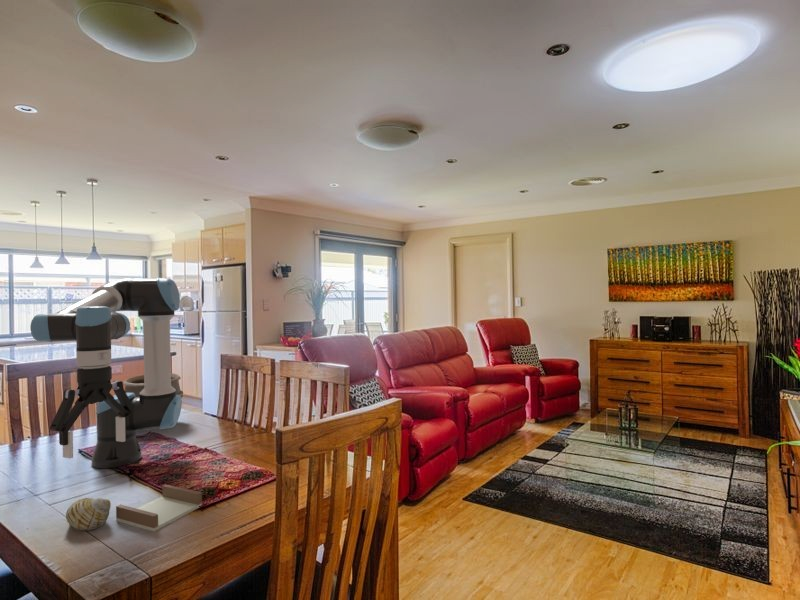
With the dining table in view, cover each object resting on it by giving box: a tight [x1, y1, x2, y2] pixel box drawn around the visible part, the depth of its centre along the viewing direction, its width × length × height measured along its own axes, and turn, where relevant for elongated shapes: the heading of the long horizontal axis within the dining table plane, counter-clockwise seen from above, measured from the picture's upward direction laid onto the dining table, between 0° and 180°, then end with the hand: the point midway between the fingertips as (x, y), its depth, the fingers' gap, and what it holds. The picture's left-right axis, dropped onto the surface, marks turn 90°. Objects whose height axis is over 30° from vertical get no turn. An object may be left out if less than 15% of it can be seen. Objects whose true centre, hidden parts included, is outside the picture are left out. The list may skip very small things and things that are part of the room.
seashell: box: [65, 497, 112, 532], centre depth 119 cm, size 10×10×10 cm
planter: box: [122, 372, 184, 400], centre depth 209 cm, size 25×24×22 cm
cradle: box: [115, 484, 203, 532], centre depth 125 cm, size 14×15×4 cm
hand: (95, 449), depth 119 cm, fingers open, 13 cm apart
